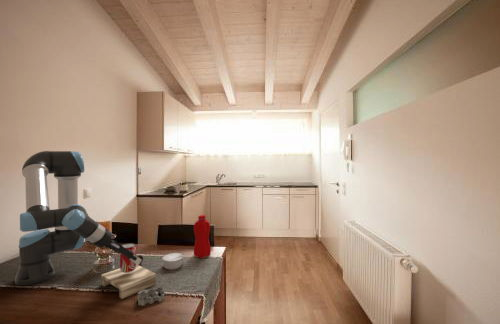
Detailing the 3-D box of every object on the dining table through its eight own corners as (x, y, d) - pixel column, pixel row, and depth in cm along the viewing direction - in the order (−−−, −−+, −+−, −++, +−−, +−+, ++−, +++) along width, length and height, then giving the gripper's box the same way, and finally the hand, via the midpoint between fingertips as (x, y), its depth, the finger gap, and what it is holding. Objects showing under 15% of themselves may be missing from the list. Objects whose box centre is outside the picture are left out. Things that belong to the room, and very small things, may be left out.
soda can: (125, 275, 112) (125, 249, 112) (117, 271, 116) (116, 246, 115) (139, 269, 118) (139, 244, 118) (131, 266, 122) (130, 242, 121)
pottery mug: (136, 275, 127) (127, 262, 126) (124, 280, 130) (115, 268, 129) (150, 260, 138) (142, 248, 137) (139, 265, 141) (131, 254, 140)
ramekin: (179, 270, 131) (179, 261, 131) (159, 270, 132) (159, 260, 131) (185, 262, 142) (185, 253, 142) (167, 261, 143) (167, 252, 143)
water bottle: (200, 250, 159) (200, 212, 159) (212, 254, 153) (212, 214, 152) (189, 255, 152) (189, 215, 151) (201, 259, 145) (201, 217, 145)
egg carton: (137, 308, 99) (136, 297, 99) (137, 298, 106) (137, 288, 106) (164, 301, 103) (164, 291, 103) (163, 292, 110) (163, 283, 110)
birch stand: (101, 285, 116) (101, 274, 116) (134, 272, 129) (134, 263, 129) (121, 299, 104) (121, 287, 104) (155, 283, 117) (155, 273, 117)
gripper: (83, 239, 110) (120, 262, 123) (102, 248, 98) (141, 273, 111) (95, 224, 114) (130, 248, 128) (115, 232, 102) (151, 257, 116)
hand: (135, 260), depth 119 cm, fingers closed on soda can, 7 cm apart
